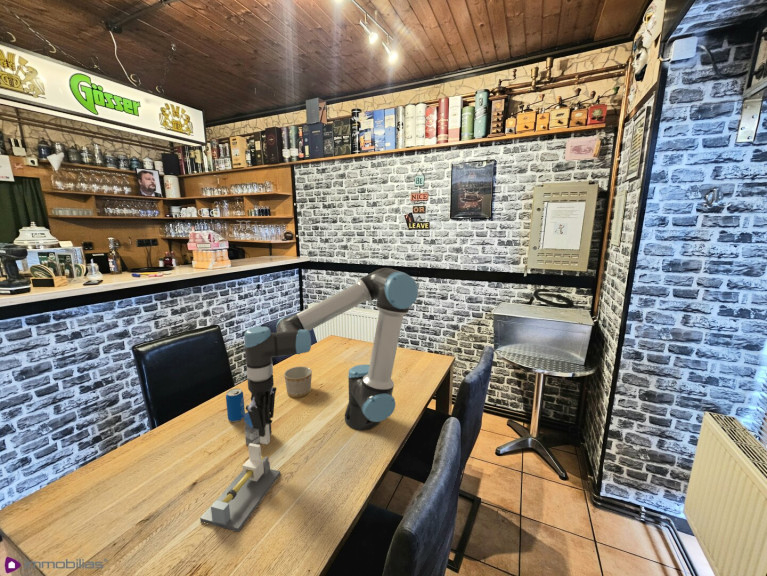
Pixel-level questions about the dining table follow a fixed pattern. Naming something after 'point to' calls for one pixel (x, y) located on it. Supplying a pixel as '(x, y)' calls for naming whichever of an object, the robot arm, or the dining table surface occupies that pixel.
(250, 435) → the label tape cartridge
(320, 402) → the dining table surface
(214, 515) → the linear slide rail
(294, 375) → the planter
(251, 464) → the white slider carriage
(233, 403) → the beverage can
